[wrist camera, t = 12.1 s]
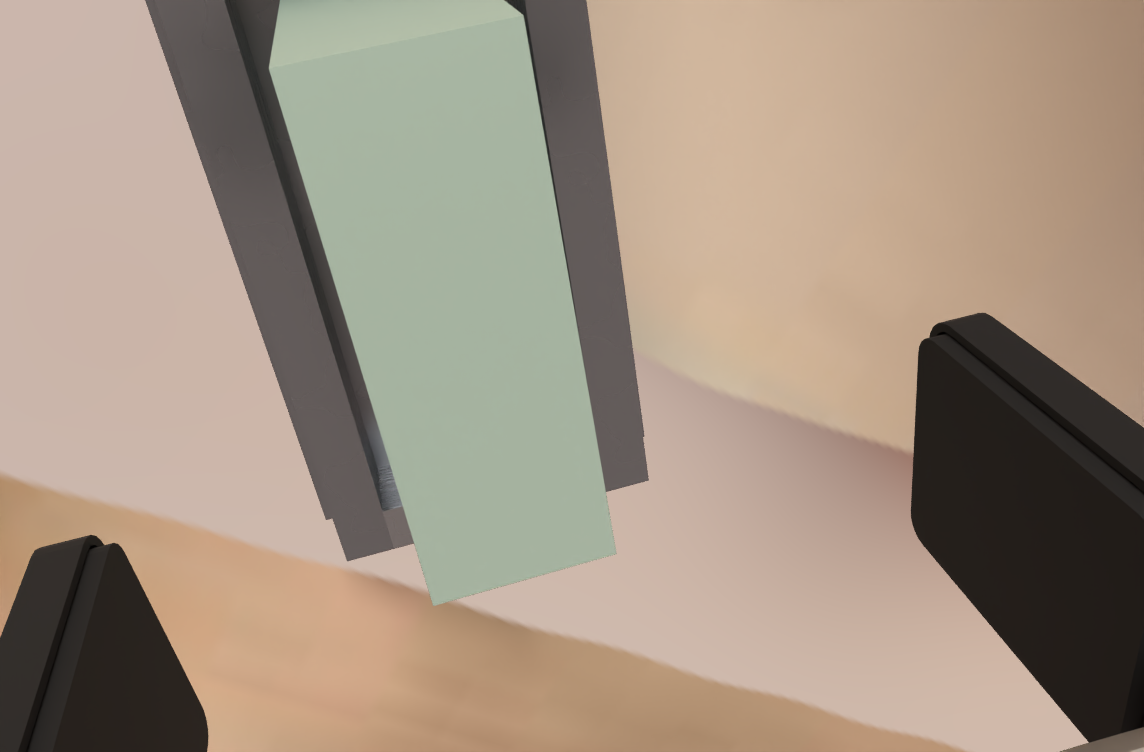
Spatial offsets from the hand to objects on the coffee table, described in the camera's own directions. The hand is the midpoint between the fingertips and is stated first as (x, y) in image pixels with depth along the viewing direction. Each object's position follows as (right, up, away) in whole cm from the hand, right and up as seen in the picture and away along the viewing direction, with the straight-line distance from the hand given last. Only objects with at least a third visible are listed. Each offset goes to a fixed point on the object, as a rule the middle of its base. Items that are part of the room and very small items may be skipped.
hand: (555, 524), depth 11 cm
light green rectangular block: (-3, +6, +12) cm, 13 cm away
